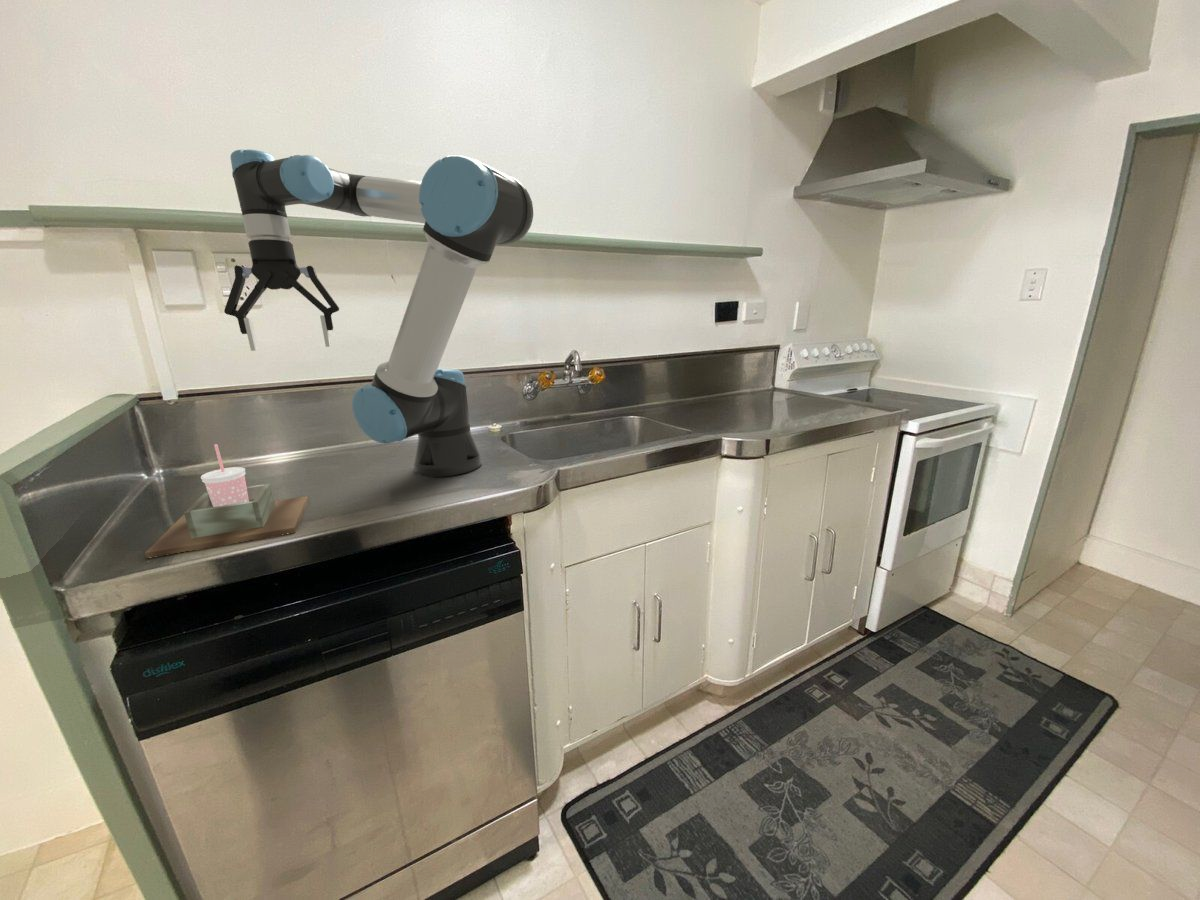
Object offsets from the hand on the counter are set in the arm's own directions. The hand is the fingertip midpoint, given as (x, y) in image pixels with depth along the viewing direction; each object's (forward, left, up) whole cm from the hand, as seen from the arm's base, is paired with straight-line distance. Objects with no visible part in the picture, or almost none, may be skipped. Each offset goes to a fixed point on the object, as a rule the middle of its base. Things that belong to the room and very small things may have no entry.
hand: (292, 348), depth 103 cm
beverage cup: (+10, +25, -28) cm, 39 cm away
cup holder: (+10, +25, -29) cm, 39 cm away
